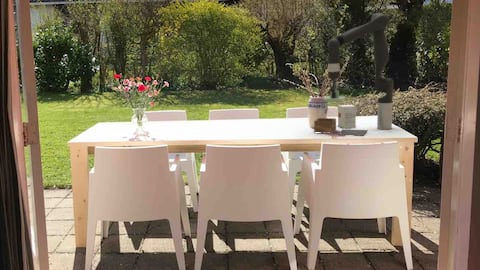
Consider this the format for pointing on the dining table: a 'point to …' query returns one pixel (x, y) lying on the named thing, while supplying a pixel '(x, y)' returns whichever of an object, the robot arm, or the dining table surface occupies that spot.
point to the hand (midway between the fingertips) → (334, 97)
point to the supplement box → (347, 116)
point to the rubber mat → (353, 132)
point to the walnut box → (325, 125)
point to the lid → (336, 99)
